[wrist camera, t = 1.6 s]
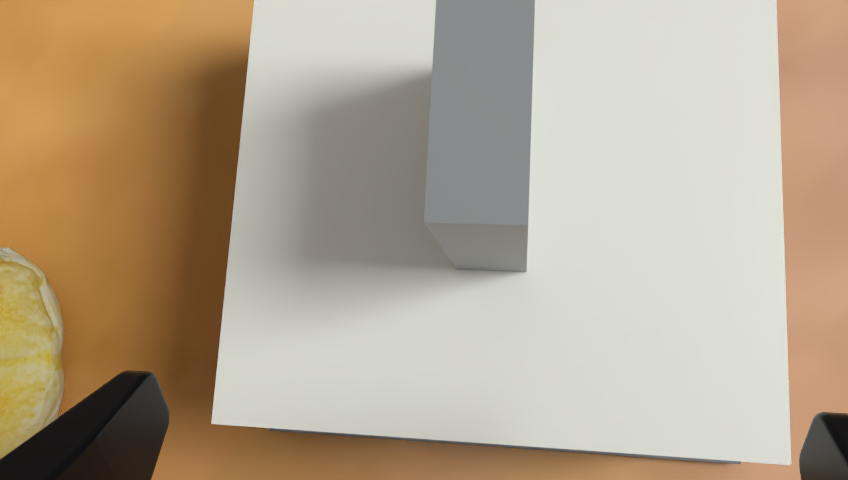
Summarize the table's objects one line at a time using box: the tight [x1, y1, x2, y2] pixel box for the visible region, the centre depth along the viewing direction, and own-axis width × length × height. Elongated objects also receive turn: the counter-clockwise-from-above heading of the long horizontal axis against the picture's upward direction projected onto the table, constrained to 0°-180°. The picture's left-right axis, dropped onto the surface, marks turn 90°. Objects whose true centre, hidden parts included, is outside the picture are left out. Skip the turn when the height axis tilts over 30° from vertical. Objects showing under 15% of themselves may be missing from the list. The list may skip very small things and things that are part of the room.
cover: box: [211, 0, 791, 465], centre depth 17 cm, size 13×13×11 cm
